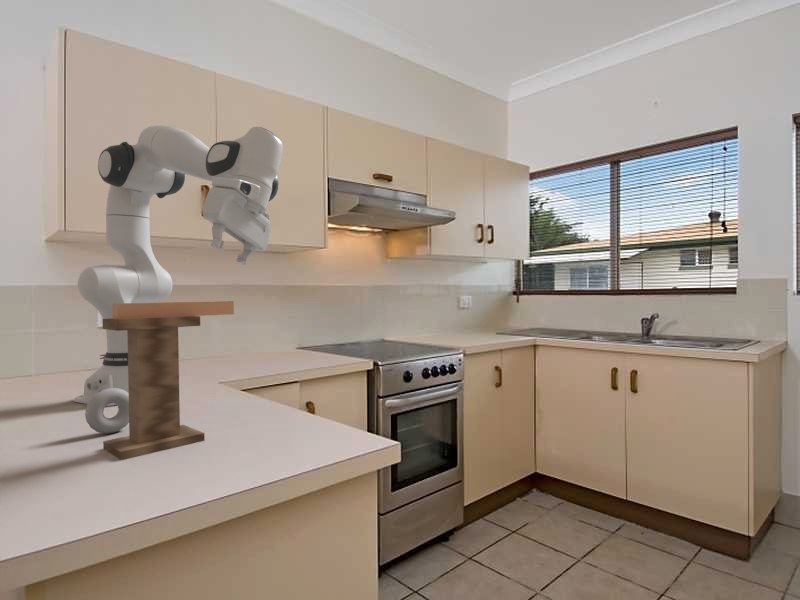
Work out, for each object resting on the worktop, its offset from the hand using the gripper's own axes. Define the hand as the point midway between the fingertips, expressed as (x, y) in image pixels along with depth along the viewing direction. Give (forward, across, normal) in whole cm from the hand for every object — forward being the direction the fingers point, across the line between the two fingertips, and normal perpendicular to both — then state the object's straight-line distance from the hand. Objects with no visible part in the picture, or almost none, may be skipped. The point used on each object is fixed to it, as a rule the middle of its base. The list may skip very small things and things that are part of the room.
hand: (229, 256), depth 106 cm
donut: (+43, -7, -20) cm, 48 cm away
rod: (+15, +1, -7) cm, 17 cm away
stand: (+41, -2, -5) cm, 42 cm away
